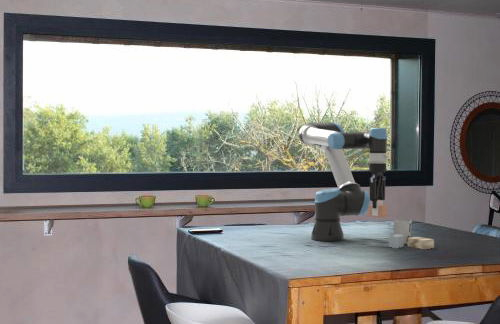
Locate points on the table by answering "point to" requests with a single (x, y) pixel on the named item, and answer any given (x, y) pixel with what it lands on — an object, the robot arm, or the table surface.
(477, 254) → the table surface
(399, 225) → the cup
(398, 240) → the slate block
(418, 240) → the maple block
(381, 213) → the terracotta block
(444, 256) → the table surface
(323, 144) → the robot arm
